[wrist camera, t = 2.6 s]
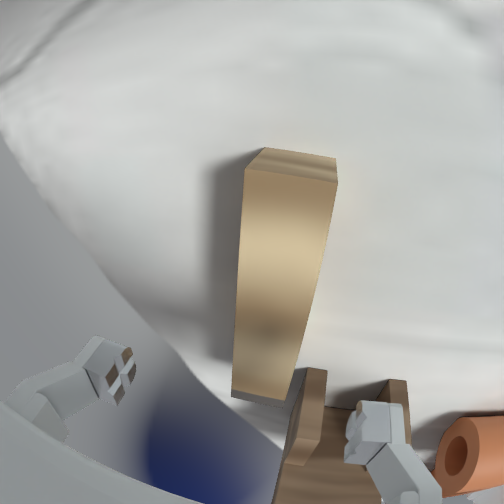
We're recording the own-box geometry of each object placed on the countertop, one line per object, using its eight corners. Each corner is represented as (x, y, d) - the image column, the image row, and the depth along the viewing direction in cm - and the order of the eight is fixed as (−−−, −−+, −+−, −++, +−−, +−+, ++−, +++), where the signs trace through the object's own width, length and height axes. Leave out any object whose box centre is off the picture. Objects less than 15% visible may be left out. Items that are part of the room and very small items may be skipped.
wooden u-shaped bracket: (307, 367, 22) (285, 493, 14) (406, 380, 21) (412, 499, 13) (290, 417, 26) (268, 515, 18) (371, 428, 25) (365, 523, 17)
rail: (264, 147, 15) (244, 168, 12) (335, 158, 15) (337, 183, 11) (245, 354, 23) (231, 396, 20) (291, 363, 22) (282, 408, 19)
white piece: (487, 436, 24) (496, 524, 14) (534, 427, 22) (548, 504, 12) (452, 466, 28) (454, 542, 18) (499, 459, 27) (505, 527, 16)
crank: (472, 401, 21) (484, 474, 15) (524, 400, 20) (539, 462, 13) (389, 477, 32) (386, 526, 25) (436, 476, 31) (436, 522, 24)
